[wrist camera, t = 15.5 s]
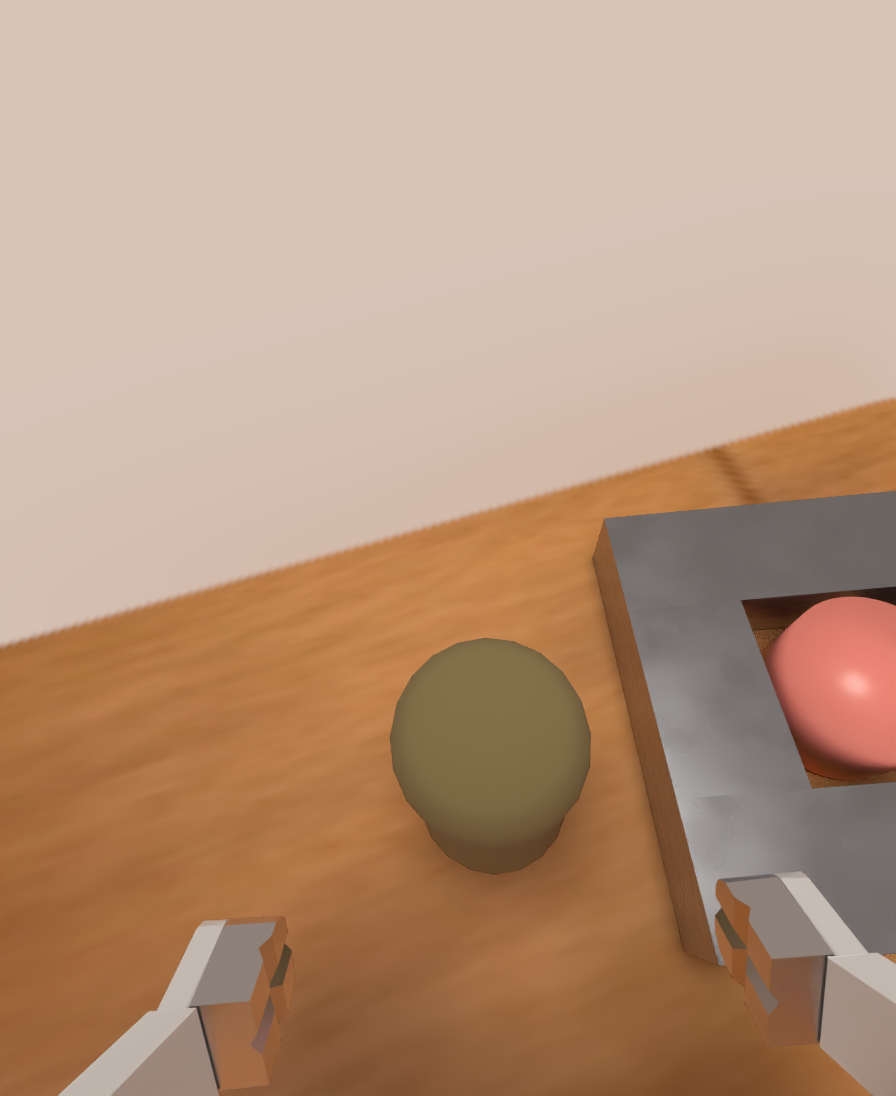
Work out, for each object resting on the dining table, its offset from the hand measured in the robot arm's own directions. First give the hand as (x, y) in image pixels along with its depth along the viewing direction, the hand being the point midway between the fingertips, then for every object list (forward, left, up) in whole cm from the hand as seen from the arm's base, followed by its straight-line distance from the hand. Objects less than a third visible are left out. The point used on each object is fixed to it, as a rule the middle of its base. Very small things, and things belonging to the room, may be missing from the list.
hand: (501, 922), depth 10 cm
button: (+14, +6, -12) cm, 19 cm away
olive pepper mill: (0, +4, -12) cm, 13 cm away
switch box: (+14, +6, -12) cm, 19 cm away
